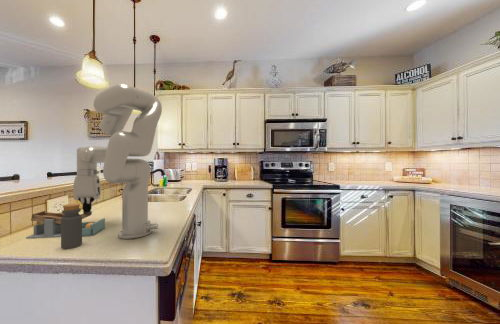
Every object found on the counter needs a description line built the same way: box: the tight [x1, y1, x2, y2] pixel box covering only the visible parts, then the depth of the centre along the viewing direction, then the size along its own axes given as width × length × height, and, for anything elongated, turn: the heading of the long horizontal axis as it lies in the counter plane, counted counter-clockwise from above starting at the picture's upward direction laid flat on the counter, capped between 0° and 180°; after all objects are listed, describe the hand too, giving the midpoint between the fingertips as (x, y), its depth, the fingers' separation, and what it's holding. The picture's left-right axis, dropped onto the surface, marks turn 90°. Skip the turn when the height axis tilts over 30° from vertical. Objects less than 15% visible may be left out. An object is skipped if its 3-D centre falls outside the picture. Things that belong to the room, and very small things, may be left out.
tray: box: [82, 217, 106, 237], centre depth 91 cm, size 9×10×4 cm
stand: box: [25, 219, 61, 239], centre depth 89 cm, size 14×9×7 cm, turn 99°
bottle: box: [60, 202, 83, 250], centre depth 77 cm, size 6×6×15 cm
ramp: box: [30, 210, 93, 225], centre depth 94 cm, size 15×16×4 cm
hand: (87, 211), depth 101 cm, fingers closed
